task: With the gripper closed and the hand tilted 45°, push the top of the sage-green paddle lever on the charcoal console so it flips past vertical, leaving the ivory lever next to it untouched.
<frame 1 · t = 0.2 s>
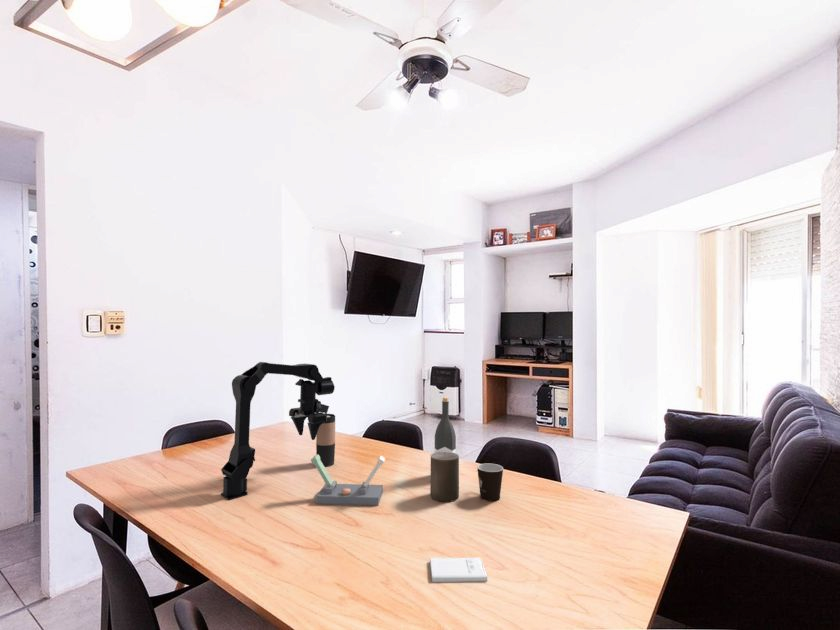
hand: (307, 437, 163), 14 cm above the table, tool pointing down, fingers open, 9 cm apart
wine bottle: (444, 477, 162), on the table
console: (350, 497, 141), on the table
travel mug: (325, 464, 175), on the table
green lever: (323, 472, 141), point 8 cm above the table, hinge at -32.0°
pillar candle: (444, 497, 143), on the table
external hard drive: (457, 574, 99), on the table
coffee mug: (490, 496, 143), on the table
ivory lever: (372, 474, 141), point 8 cm above the table, hinge at 32.0°
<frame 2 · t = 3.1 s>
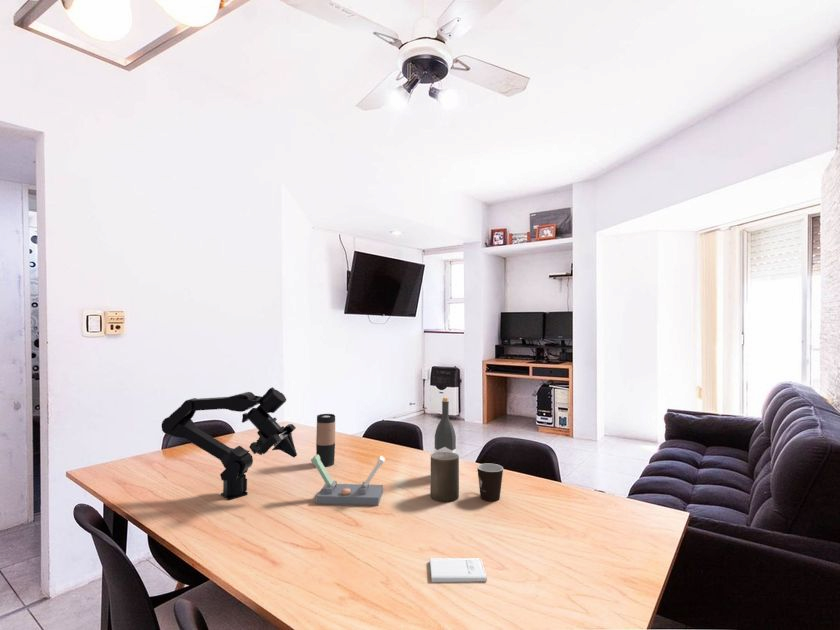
hand: (295, 456, 142), 13 cm above the table, tool tilted 45°, fingers closed
nothing on the table moved.
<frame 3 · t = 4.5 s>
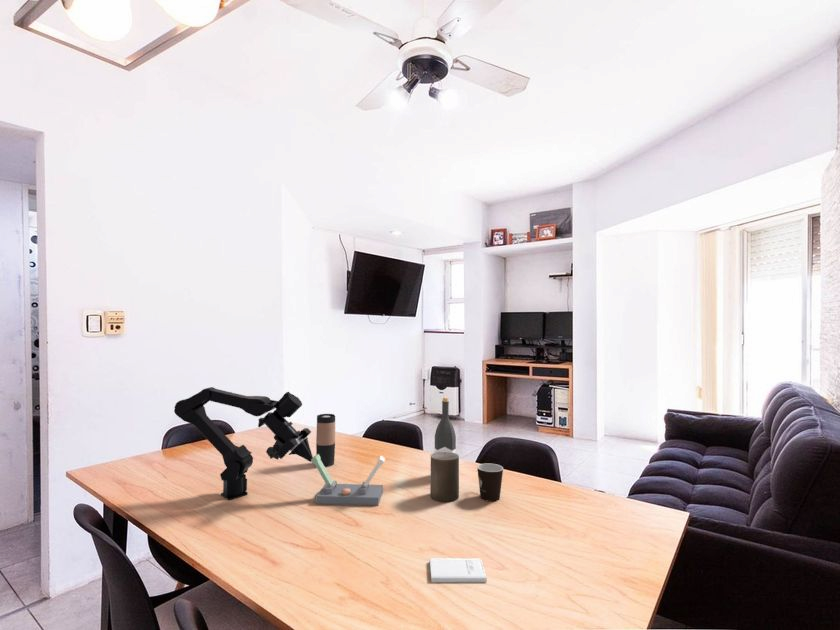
hand: (312, 460, 142), 12 cm above the table, tool tilted 45°, fingers closed, pressing on green lever
green lever: (323, 472, 141), point 8 cm above the table, hinge at -31.3°, touching gripper
everything else where it was.
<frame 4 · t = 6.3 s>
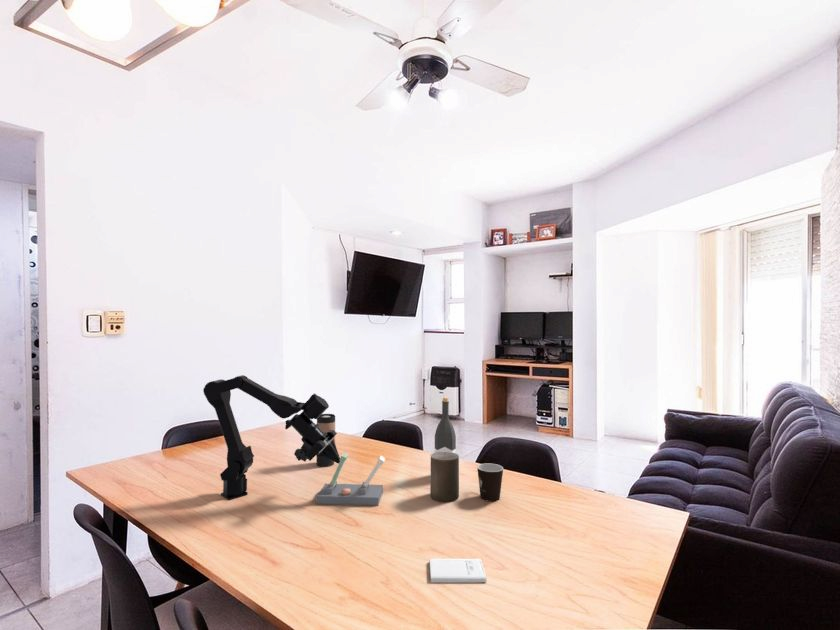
hand: (339, 462, 141), 12 cm above the table, tool tilted 45°, fingers closed, pressing on green lever
green lever: (337, 472, 141), point 8 cm above the table, hinge at 23.0°, touching gripper
everything else where it was.
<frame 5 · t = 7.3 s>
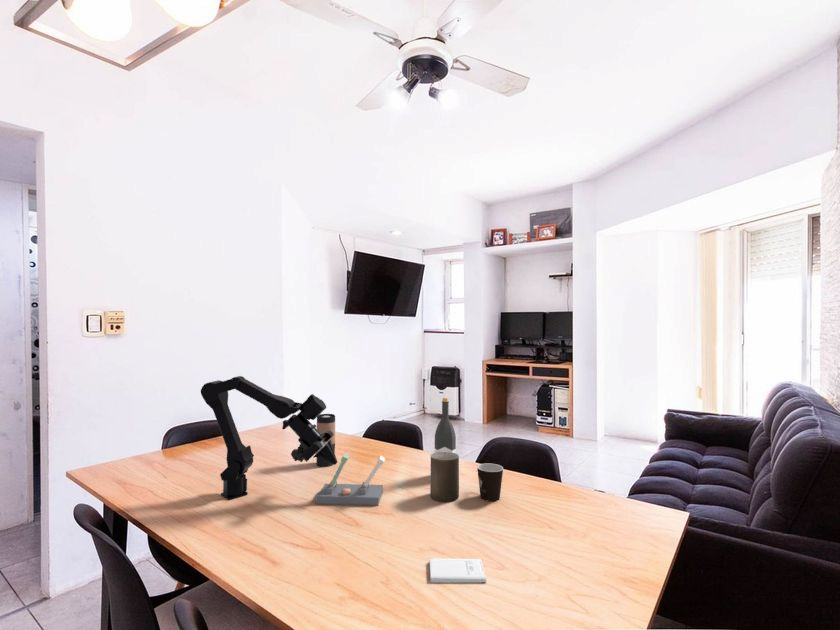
hand: (336, 463, 141), 11 cm above the table, tool tilted 45°, fingers closed
green lever: (338, 472, 141), point 8 cm above the table, hinge at 25.7°
everything else where it was.
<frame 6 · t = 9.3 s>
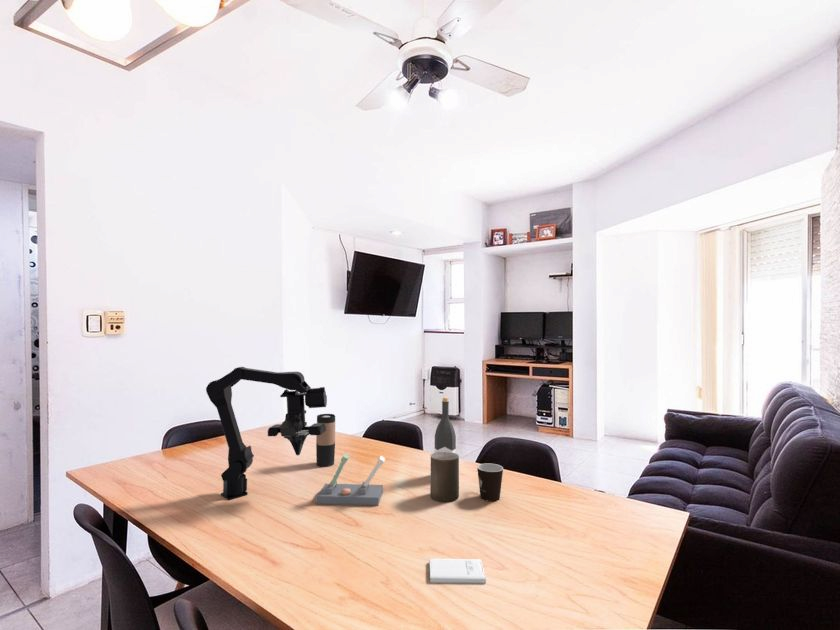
hand: (298, 455, 144), 13 cm above the table, tool pointing down, fingers closed
nothing on the table moved.
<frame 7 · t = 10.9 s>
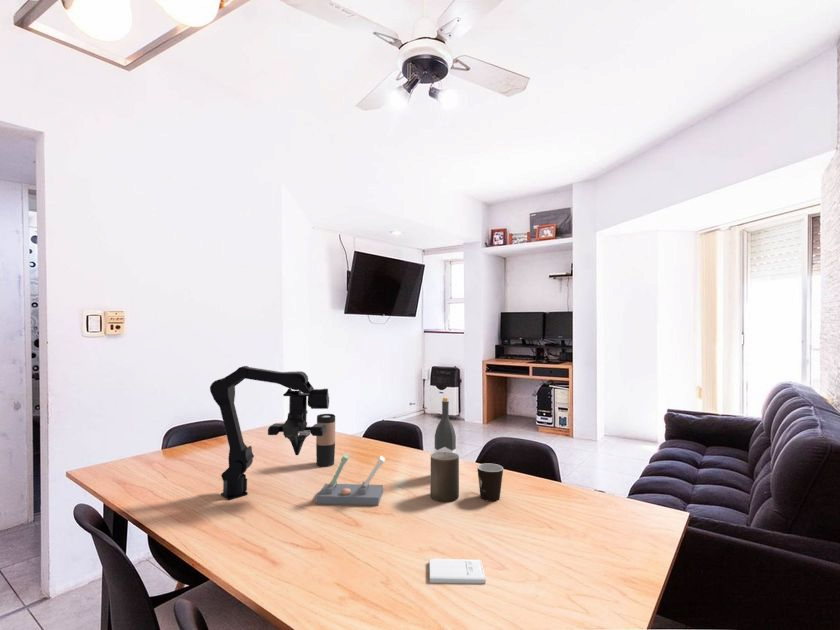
hand: (297, 454, 144), 13 cm above the table, tool pointing down, fingers closed
nothing on the table moved.
at the end: green lever at +26° (first picture: -32°); ivory lever at +32° (first picture: +32°) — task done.
